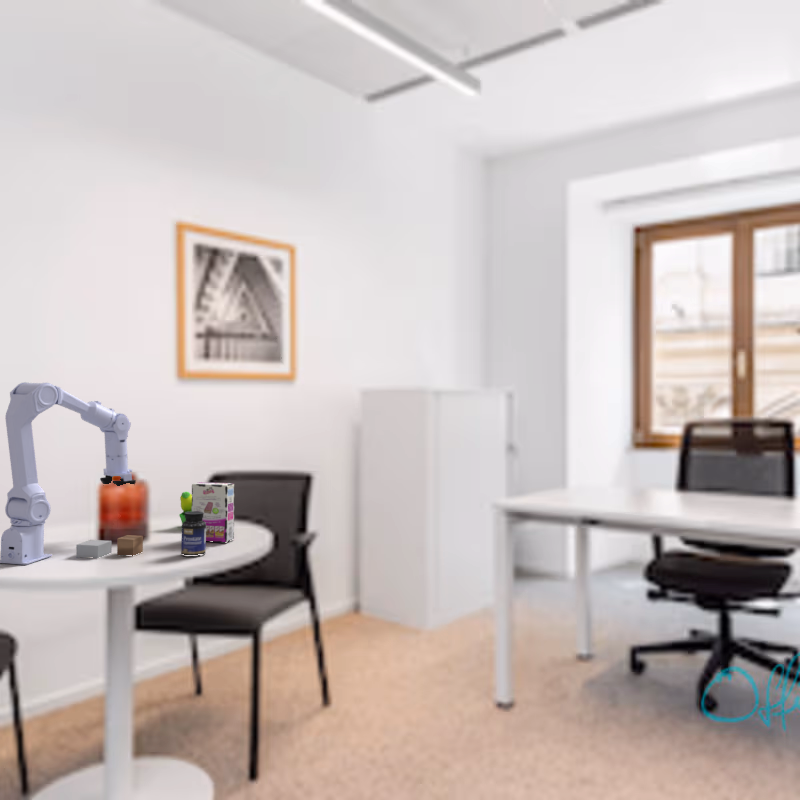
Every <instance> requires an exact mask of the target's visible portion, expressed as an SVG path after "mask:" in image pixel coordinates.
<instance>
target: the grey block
mask: <svg viewBox="0 0 800 800" xmlns="http://www.w3.org/2000/svg"><path fill="white" fill-rule="evenodd" d="M75 546H76V547H75V548H76V550H75V551H76V554H75V556H76V557H93V558H99V557H101V558H103V557H102V556H104V555H106V556H108V555H107V554H109V553H111V554H112V552H113V551H112V547H113V546H112V540H100V539H90V540H89V539H88V540H86V541H83V542H81V543H78V544H76V545H75ZM109 555H110V554H109ZM104 557H105V556H104ZM93 558H92V559H93ZM99 559H100V558H99Z"/></svg>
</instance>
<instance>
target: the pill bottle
mask: <svg viewBox="0 0 800 800" xmlns="http://www.w3.org/2000/svg"><path fill="white" fill-rule="evenodd" d="M203 517H204V513H203V512H201V511H190V512H185V519H186V521H185V522H183V523H182V522H181V538H180V539H181V547H180V548H181V550H180V551H181V552H180V555H181V554H184V555H198V554H204V553H205V554H206V549H207V548H206V547H207V546H206V543H207V542H206V523H205V522H204V521H203V520H202V519H203ZM205 554H204V555H205Z"/></svg>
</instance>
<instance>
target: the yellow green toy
mask: <svg viewBox="0 0 800 800" xmlns="http://www.w3.org/2000/svg"><path fill="white" fill-rule="evenodd" d="M179 501H180V507H181V510H182V511H183V512H181V513H179V515H178V517H179V518H180V520H181V521H180V522H181V524H182V523H183V522H185V521H186V519H185V512H190V511H192V493H190V492H189V491H183V492H181V494H180V499H179Z"/></svg>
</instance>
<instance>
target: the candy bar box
mask: <svg viewBox="0 0 800 800" xmlns="http://www.w3.org/2000/svg"><path fill="white" fill-rule="evenodd" d="M191 495H192V511H201V512H203V513H204V517H203V519H202V520H203V521H204V522H205V523H206V541H213V542H227V541H230V540H232V539H234V540H235V483H234V482H233V483H230V482H227V483H226V482H202V481H201V482H195V483H191ZM213 542H212V543H213Z"/></svg>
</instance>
